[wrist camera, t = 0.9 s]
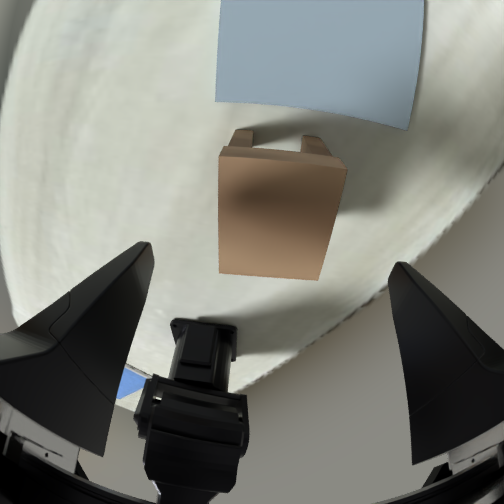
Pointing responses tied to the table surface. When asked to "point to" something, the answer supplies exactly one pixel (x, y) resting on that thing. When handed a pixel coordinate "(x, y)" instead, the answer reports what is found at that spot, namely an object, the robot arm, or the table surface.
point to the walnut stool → (276, 208)
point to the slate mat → (322, 56)
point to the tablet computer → (131, 381)
